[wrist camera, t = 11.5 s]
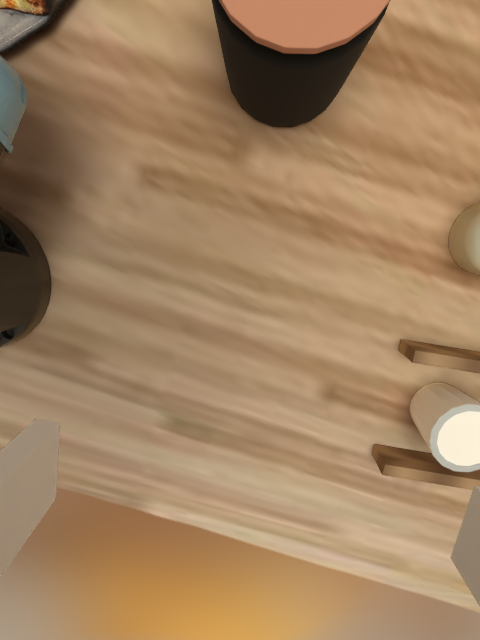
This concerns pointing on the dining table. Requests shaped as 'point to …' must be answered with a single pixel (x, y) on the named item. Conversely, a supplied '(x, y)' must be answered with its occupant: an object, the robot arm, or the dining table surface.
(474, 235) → the cream rounded cylinder
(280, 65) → the coffee jar
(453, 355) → the bay
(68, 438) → the dining table surface
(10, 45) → the food plate
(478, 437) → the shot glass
